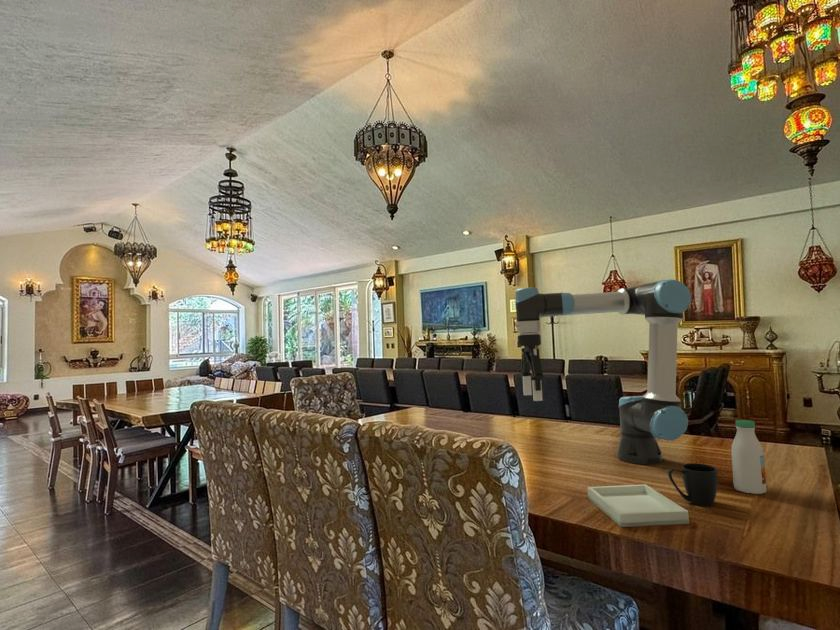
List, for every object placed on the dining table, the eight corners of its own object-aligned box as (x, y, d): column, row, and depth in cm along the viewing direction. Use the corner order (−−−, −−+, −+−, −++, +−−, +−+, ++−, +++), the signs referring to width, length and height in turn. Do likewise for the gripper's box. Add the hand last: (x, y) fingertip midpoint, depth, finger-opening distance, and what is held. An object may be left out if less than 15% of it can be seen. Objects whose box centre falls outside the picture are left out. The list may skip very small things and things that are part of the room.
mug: (665, 496, 128) (662, 462, 128) (711, 497, 125) (709, 463, 126) (675, 507, 120) (672, 471, 120) (725, 509, 117) (722, 472, 118)
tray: (646, 494, 129) (645, 484, 129) (689, 523, 109) (688, 511, 109) (588, 497, 129) (587, 487, 129) (620, 527, 109) (619, 514, 109)
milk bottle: (757, 496, 125) (752, 424, 126) (728, 489, 131) (723, 420, 132) (772, 491, 128) (766, 421, 129) (742, 484, 135) (737, 417, 136)
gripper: (510, 334, 162) (513, 393, 161) (526, 334, 137) (530, 404, 136) (530, 333, 162) (534, 392, 161) (550, 333, 137) (555, 402, 136)
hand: (532, 397), depth 149 cm, fingers open, 13 cm apart
